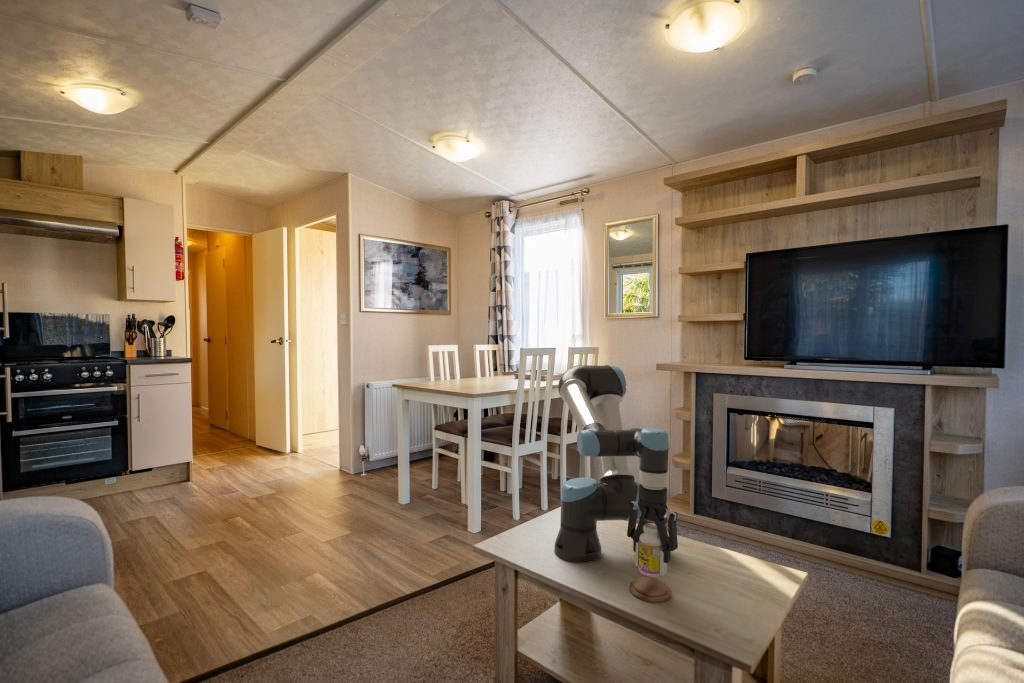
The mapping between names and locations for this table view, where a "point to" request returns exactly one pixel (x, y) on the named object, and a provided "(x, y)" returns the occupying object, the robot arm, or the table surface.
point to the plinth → (650, 590)
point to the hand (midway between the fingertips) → (650, 568)
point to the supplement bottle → (650, 551)
